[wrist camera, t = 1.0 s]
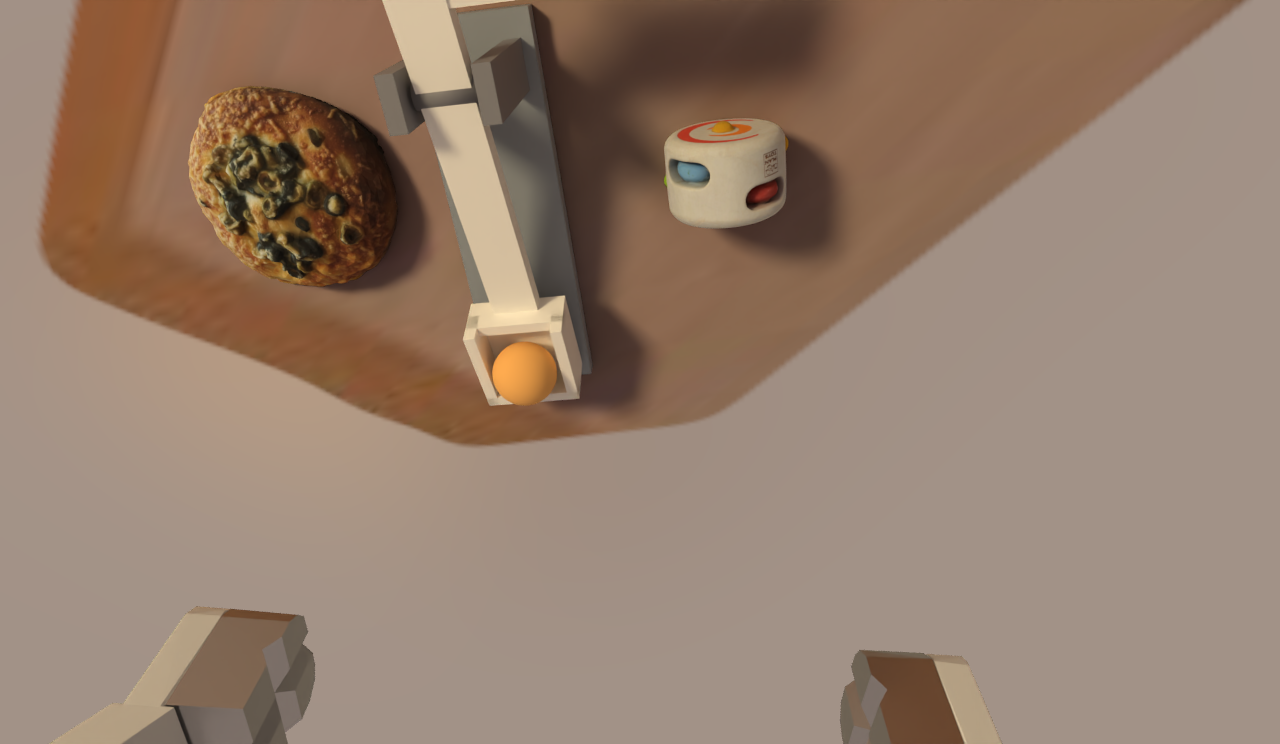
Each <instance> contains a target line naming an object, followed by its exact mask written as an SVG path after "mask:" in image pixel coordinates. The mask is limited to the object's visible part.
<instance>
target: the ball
mask: <svg viewBox="0 0 1280 744" xmlns="http://www.w3.org/2000/svg"><path fill="white" fill-rule="evenodd" d="M492 375H493V382H494V385H495V387H496V389H497V391H498V392H499V394H500V395H501V396H502V397H503V398H504V399H506V400H507V401H509V402H511V403H513V404H517V405H523V406H528V405H533V404H536V403H539V402H541V401H542V400H544V399H545V398H546V397H547V396H548V395H549V394H550V393H551V392H552V390H553V388H554V386H555V383H556V380H557V368H556V364H555V361H554V359H553V357H552V356H551V354H550V353H549V352H548V351H547V350H546V349H545V348H543V347H542V346H540V345H538V344H536V343H533V342H517V343H514V344H511V345H509V346H507V347H506V348H505V349H503V350H502V351H501V352H500V354H499V355H498V356H497V358H496V360H495V362H494V365H493V371H492Z"/></svg>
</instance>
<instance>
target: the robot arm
mask: <svg viewBox="0 0 1280 744" xmlns="http://www.w3.org/2000/svg"><path fill="white" fill-rule="evenodd" d="M307 633H308V630H307V626H306V623H305V619H304V616H300V615H292V614H281V613H270V612H259V611H248V610H237V609H223V608H210V607H198V606H197V607H195V608H194V609H192V610H191V611H189V612H188V613H187V614H185V615H184V617H183V618H182V619H181V621H180V622H179V624H178V625H177V627H176V628H175V630H174V631H173V632H172V634H171V635H170V637H169V638H168V640H167V641H166V642H165V644H164V645H163V647H162V648H161V650H160V651H159V653H158V654H157V655H156V657H155V658H154V660H153V661H152V663H151V664H150V666H149V667H148V668H147V670H146V671H145V673H144V674H143V676H142V677H141V678H140V680H139V681H138V683H137V684H136V686H135V687H134V689H133V690H132V692H131V693H130V694H129V696H128V697H127V699H126V700H125V702H124V703H123V704H121V703H120V704H119V703H112V704H110V705H109V706H107V707H106V708H104V709H102V710H101V711H99V712H98V713H96V714H95V715H93V716H91V717H90V718H88V719H87V720H85V721H84V722H82V723H81V724H79V725H77V726H76V727H74V728H73V729H72V730H70V731H68V732H66V733H65V734H63V735H62V736H60V737H59V738H57V739H56V740H54V741H52V742H51V743H50V744H288V742H287V739H286V734H285V732H286V731H287V730H289V729H290V728H291V727H293V726H294V725H295V724H296V723H297V722H299V721H300V720H301V719H302V718H303V715H304V713H305V710H306V708H307V706H308V704H309V701H310V698H311V694H312V689H313V685H314V681H315V662H314V657H313V653H312V652H311V651H310V650H309V649H308V648H307V647H306V646H304V645H303V644H302V643H303V641H304V639H305V637H306V635H307ZM851 667H852V672H853V675H854V681H853V682H851V683H850V684H849V685H847V686H845V689H844V693H843V697H842V700H841V714H840V715H841V716H840V724H841V732H842V739H843V744H1002V742H1001V739H1000V737H999V735H998V732H997V730H996V728H995V725H994V723H993V720H992V718H991V716H990V713H989V711H988V709H987V706H986V704H985V702H984V699H983V697H982V695H981V693H980V690H979V688H978V685H977V683H976V681H975V678H974V676H973V674H972V671H971V669H970V667H969V664H968V662H967V661H966V660H965V659H964V658H963V657H962V656H950V655H934V654H926V655H925V654H924V653H909V652H889V651H870V650H859V651H858V653H857V654H856V655H855V657H854V660H853V663H852V666H851Z"/></svg>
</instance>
